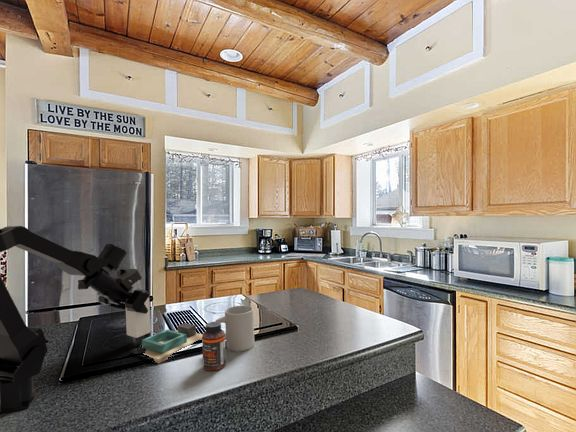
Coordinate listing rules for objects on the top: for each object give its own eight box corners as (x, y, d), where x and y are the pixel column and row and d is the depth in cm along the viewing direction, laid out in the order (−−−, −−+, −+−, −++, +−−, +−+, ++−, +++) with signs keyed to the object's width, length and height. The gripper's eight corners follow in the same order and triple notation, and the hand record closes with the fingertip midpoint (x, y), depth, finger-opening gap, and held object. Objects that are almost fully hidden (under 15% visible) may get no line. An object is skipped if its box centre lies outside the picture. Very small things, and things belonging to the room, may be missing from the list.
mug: (250, 337, 103) (248, 303, 102) (258, 348, 95) (256, 311, 95) (212, 345, 98) (210, 309, 98) (217, 356, 90) (216, 318, 90)
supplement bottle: (199, 371, 82) (197, 328, 82) (208, 360, 88) (206, 319, 88) (221, 372, 81) (219, 328, 81) (229, 361, 87) (227, 320, 87)
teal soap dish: (159, 363, 87) (158, 348, 87) (130, 353, 94) (129, 339, 94) (207, 339, 103) (206, 326, 103) (179, 332, 109) (179, 320, 109)
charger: (136, 337, 98) (134, 297, 98) (126, 335, 101) (124, 295, 100) (150, 332, 102) (149, 293, 102) (141, 329, 105) (139, 291, 105)
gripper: (142, 263, 93) (175, 292, 103) (106, 260, 103) (139, 286, 112) (117, 297, 86) (154, 324, 96) (81, 290, 96) (118, 315, 106)
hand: (141, 311), depth 103 cm, fingers closed on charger, 5 cm apart
